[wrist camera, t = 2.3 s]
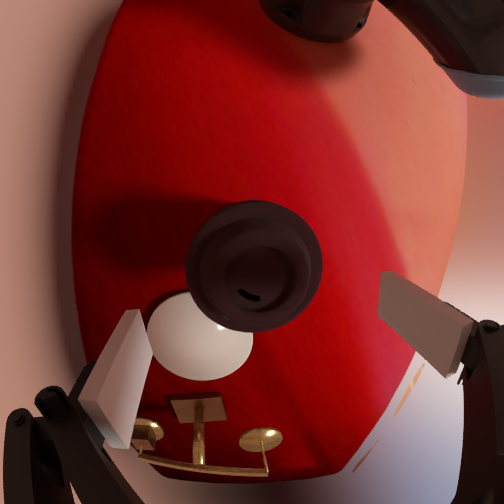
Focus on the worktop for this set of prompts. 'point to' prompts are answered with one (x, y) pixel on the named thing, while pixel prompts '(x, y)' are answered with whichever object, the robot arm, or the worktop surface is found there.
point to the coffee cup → (253, 266)
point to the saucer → (195, 341)
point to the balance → (202, 435)
